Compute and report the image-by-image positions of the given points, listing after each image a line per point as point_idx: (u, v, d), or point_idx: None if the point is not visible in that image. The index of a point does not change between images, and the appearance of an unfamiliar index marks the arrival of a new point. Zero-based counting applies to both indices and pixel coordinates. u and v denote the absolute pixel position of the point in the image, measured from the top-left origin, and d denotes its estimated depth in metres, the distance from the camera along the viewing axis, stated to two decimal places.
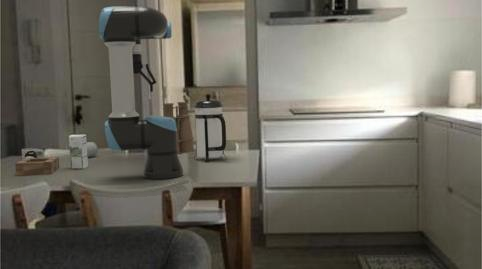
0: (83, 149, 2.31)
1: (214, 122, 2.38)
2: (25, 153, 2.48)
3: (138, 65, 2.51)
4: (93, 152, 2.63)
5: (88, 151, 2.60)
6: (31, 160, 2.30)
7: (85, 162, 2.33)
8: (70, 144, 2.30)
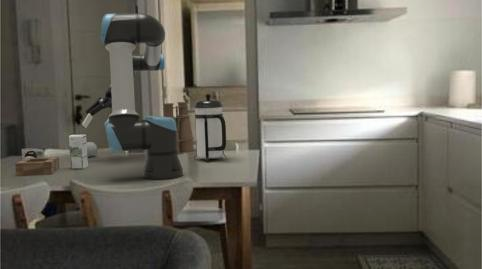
0: (83, 149, 2.31)
1: (214, 122, 2.38)
2: (25, 153, 2.48)
3: None
4: (93, 152, 2.63)
5: (88, 151, 2.61)
6: (31, 160, 2.30)
7: (85, 162, 2.33)
8: (70, 144, 2.30)
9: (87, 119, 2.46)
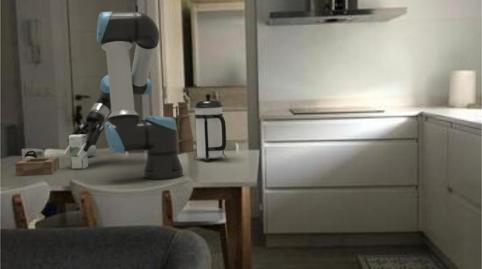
0: None
1: (214, 122, 2.38)
2: (25, 153, 2.48)
3: (94, 123, 2.38)
4: (91, 152, 2.64)
5: (87, 151, 2.61)
6: (31, 160, 2.30)
7: (85, 162, 2.33)
8: (70, 144, 2.30)
9: (69, 148, 2.33)
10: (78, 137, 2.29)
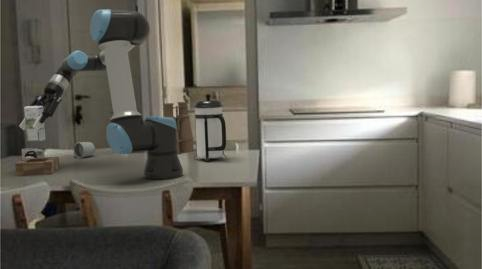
0: None
1: (214, 122, 2.38)
2: (25, 153, 2.48)
3: (52, 94, 2.30)
4: (90, 152, 2.64)
5: (86, 151, 2.62)
6: (31, 160, 2.30)
7: (42, 134, 2.25)
8: (26, 115, 2.22)
9: None
10: (34, 108, 2.21)
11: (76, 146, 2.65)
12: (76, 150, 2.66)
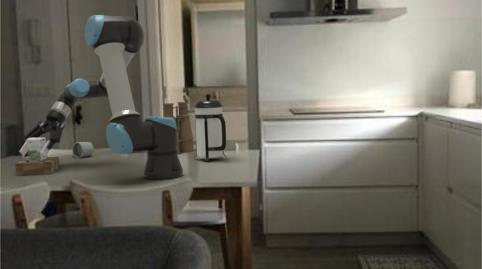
0: None
1: (214, 122, 2.38)
2: None
3: (54, 122, 2.31)
4: (89, 152, 2.65)
5: (84, 151, 2.62)
6: None
7: None
8: (28, 147, 2.24)
9: (25, 146, 2.28)
10: (36, 140, 2.23)
11: (75, 146, 2.65)
12: (75, 150, 2.66)
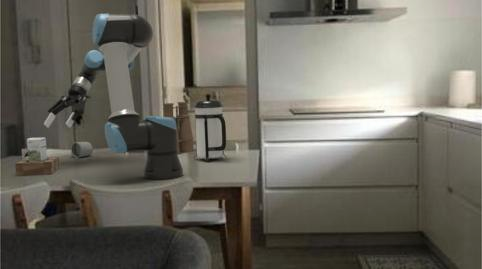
0: (42, 153, 2.25)
1: (214, 122, 2.38)
2: (25, 153, 2.48)
3: (76, 96, 2.41)
4: (88, 152, 2.65)
5: (83, 151, 2.63)
6: None
7: None
8: (28, 147, 2.24)
9: (49, 118, 2.39)
10: (36, 140, 2.23)
11: (74, 146, 2.66)
12: (74, 150, 2.67)
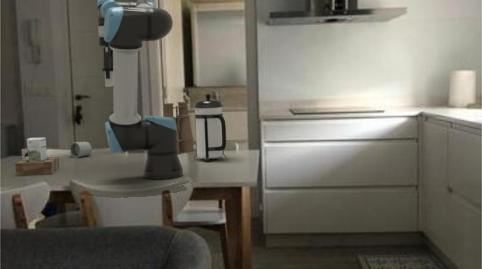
0: (42, 153, 2.25)
1: (214, 122, 2.38)
2: (25, 153, 2.48)
3: None
4: (87, 151, 2.66)
5: (82, 151, 2.63)
6: None
7: None
8: (28, 147, 2.24)
9: None
10: (36, 140, 2.23)
11: (73, 146, 2.66)
12: (73, 150, 2.67)
